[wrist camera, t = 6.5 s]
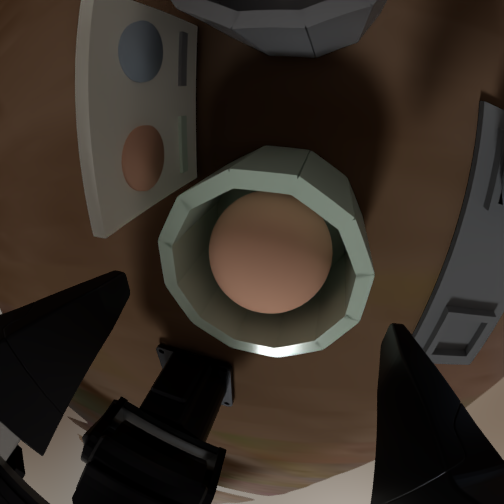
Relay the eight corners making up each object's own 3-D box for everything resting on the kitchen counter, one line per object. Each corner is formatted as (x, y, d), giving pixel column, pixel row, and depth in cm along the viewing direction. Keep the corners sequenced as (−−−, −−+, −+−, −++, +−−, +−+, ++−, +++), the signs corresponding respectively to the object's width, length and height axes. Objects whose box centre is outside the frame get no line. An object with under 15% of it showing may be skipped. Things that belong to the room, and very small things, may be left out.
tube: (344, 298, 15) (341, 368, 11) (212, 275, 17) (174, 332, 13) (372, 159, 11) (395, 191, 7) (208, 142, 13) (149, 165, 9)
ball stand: (468, 359, 15) (471, 370, 14) (400, 355, 16) (402, 368, 15) (554, 140, 7) (565, 144, 6) (479, 100, 8) (490, 101, 7)
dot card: (200, 177, 14) (110, 239, 8) (186, 177, 14) (93, 236, 8) (201, 25, 10) (100, -13, 4) (186, 28, 10) (81, -3, 4)
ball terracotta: (324, 277, 14) (317, 349, 10) (231, 262, 15) (194, 324, 11) (339, 183, 12) (345, 229, 8) (231, 171, 13) (181, 209, 9)
